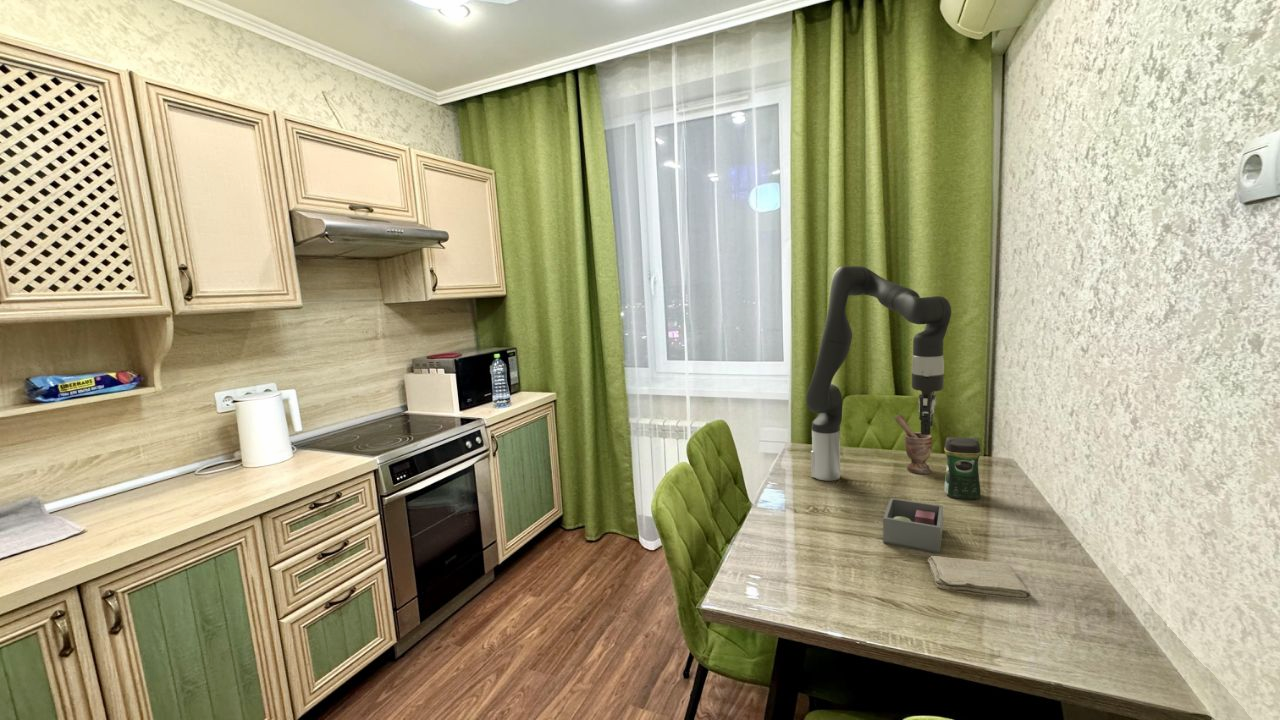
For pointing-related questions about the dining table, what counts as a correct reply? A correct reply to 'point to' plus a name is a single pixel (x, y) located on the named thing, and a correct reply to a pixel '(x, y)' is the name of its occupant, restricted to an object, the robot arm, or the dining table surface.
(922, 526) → the bin
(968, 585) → the washcloth
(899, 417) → the mortar and pestle
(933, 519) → the pink cube
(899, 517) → the green cylinder
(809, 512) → the dining table surface
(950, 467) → the coffee jar
